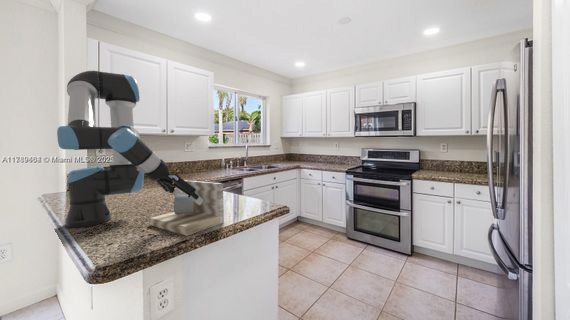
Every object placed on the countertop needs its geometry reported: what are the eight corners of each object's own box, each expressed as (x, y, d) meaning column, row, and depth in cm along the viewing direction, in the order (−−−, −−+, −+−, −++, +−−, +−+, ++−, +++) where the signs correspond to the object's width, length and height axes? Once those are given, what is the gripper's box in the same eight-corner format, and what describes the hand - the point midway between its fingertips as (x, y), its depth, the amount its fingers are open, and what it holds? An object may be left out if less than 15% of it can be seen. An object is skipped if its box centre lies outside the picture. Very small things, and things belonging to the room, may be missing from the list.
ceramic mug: (195, 214, 94) (195, 195, 94) (173, 216, 93) (172, 196, 92) (200, 208, 105) (199, 191, 104) (179, 209, 103) (179, 192, 103)
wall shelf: (149, 225, 97) (147, 185, 96) (187, 214, 111) (185, 180, 110) (187, 235, 84) (185, 189, 83) (224, 222, 98) (222, 183, 97)
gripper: (129, 173, 90) (170, 206, 104) (163, 175, 77) (205, 212, 92) (143, 158, 94) (181, 191, 108) (178, 158, 82) (216, 196, 96)
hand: (192, 201), depth 100 cm, fingers closed on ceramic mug, 10 cm apart
